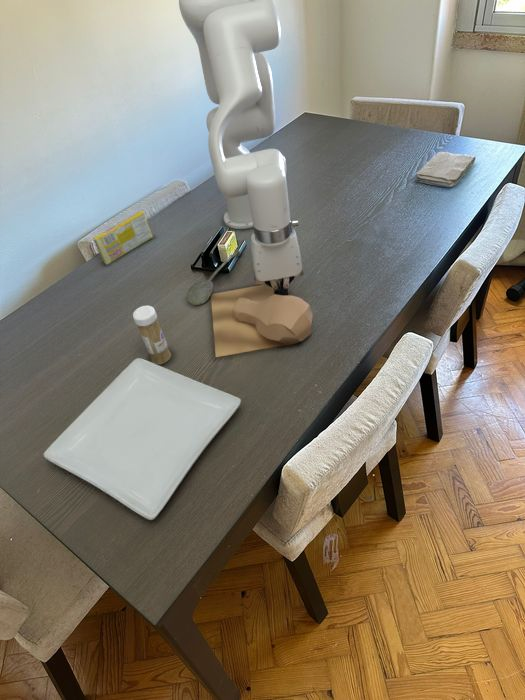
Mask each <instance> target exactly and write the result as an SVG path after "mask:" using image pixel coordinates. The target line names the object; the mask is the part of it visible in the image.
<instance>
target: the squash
mask: <svg viewBox="0 0 525 700" xmlns="http://www.w3.org/2000/svg"><path fill="white" fill-rule="evenodd" d="M233 316H234V318H236V319H237V320H238V321H241V322H248V323H251V324H254V325H256V328H257V331H258V332H259V333H260V334H262V335H263V336H264V337H266V338H267V339H269V340H271V341H274V342H279V343H283V344H289V345H291V344H290V343H295V342H298V343H299V342H303V341H304V340H305V339H306V338H308V337H309V336H310V335H311V334H312V323H313V317H314V314H313V311H312V307H311V305H310V304H309V303H308V302H307V301H305V300H304V299H302V298H301V297H300V296H299V297H298V296H295V295H291V294H290V295H289V294H288V296H282V295H276V294H274V295H272V296H270V297H269V298H268V299H267V300H264V301H260V302H258V301H252V300H249V299H246V298H239V299H238V301H237V302H236V304H235V306H234V307H233ZM295 344H296V343H295Z"/></svg>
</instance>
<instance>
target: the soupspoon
mask: <svg viewBox="0 0 525 700" xmlns="http://www.w3.org/2000/svg"><path fill="white" fill-rule="evenodd" d="M235 250H236V251H235ZM235 250H234V252H233V253H232V254H233V255H232V254H230V256H231V257H230V256H229V257H230V258H229V257H228V258H229V259H228V258H227V259H226V260H225V261H224V262H222V264H221V265H220V266H219V267H217V269H216V270H215V271H214V272H213V273H212V274H210V276H209V277H208V279H206V280H200V281H197V282H196V283H193V285H191V286H190V287H189V288H188V291H187V293H186V299H187V302H188V303H189V304H190V305H192V306H200V305H203V304H204V303H206V302H207V301H208V299H210V298H211V294H213V290H214V283H213V281H212V280H213V279H214V278H215V276H217V274H218V273H219V272H220V271H221V270H222V268H224V266H226V264H227V263H228V262H229V261H230V260H231V259H234V258H235V257H236V256H238V257H239V256H241V253H242V252H241V251H240V249H235Z"/></svg>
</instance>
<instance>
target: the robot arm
mask: <svg viewBox="0 0 525 700" xmlns="http://www.w3.org/2000/svg"><path fill="white" fill-rule="evenodd" d="M178 6H179V12H180V14H181V15H180V16H181V17H182V20H183V22H184V24H185V26H186V27H187V29H188V31H189V32H190V33H191V35H192V36H193V38H194V40H195V42H196V45H197V48H198V53H199V58H200V63H201V70H202V75H203V81H204V85H205V89H206V93H207V97H208V99H209V100H210V102H212V103H213V104H214V105H218V106H217V107H216V106H215V107H214V108H212V109H211V110H210V111H209V112H208V114H207V115H206V121H205V122H206V127H207V132H208V139H207V142H208V143H207V145H208V152H209V157H210V161H211V166H212V169H213V174H214V179H215V181H216V185H217V188H218V190H219V192H220V193H221V194H222V196H224V200H225V204H226V210H227V211H226V212H225V213H224V215H223V222H224V224H225V225H226V226H227V227H229V228H231V229H233V230H235V229H236V230H247V229H251V228H253V233H252V234H251V236H250V237H251V238H250V250H251V261H252V268H253V271H254V272H253V273H254V279H253V280H254V284H256V285H265V284H266V285H268V286H270V287H272V288H273V290H274V294H276V295H282V296H289V289H288V288H289V287H290V284H291V283H292V282H293V281H294V280H295V279H297V278H299V277H303V276H304V270H303V263H302V255H301V251H300V245H299V240H298V236H297V233H296V230H295V227H299V220H298V219H294V218H293V219H292V217H291V212H290V211H291V210H290V202H289V193H288V192H289V191H288V182H287V174H288V167H287V163H286V162H287V160H286V158H285V155H283V154H282V152H281V151H280V150H279V149H277V148H266V149H262V150H257V151H253V152H250V150H249V149H248V148H247V147H245V146H244V145H243V144H245V143H248V142H251V141H255V140H256V141H257V140H261V139H264V138H267V137H271V136H272V135H273V134H274V133H275V131H276V124H277V123H276V122H277V121H276V108H275V96H274V81H273V76H272V75H273V74H272V69H271V66H270V65H271V64H270V62H269V60H268V58H267V56H265V54H263V53H264V52H268V51H272V50H275V49H276V48H278V47H279V44H280V42H281V36H282V35H281V34H282V33H281V32H282V31H281V23H280V18H279V15H278V11H277V8H276V6H275V3H274V1H273V0H178ZM279 279H281V280H279ZM278 280H279V281H278ZM278 282H280V285H279V283H278Z"/></svg>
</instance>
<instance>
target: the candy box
mask: <svg viewBox="0 0 525 700" xmlns="http://www.w3.org/2000/svg"><path fill="white" fill-rule="evenodd" d="M153 236H154V235H153V233H152V231H151V227H150V226H149V223H148V220H147V217H146V215H145V212H144V211H142V210H140V211H138V212H137V213H135V214H133V215H131V216H129V217H128V218H126V219H125V220H123V221H120V222H119V223H117V224H116V225H114V226H112V227H111V228H108V229H107V230H105V231H103V232H102V233H100V234H98V235H96V236H94V237H93V238H92V240H93V242H94V244H95V247H96V248H97V249H96V250H97V251H98V253H99V255H100V257H101V260H102V262H103V264H104V265H109V264H111V263H113V262H114V261H116V260H118V259H119V258H121V257H123V256H124V255H126V254H128V253H129V252H132V251H133V250H135V249H136V248H138V247H139V246H141V245H143V244H144V243H146V242H148V241H149V240H151V239H153V238H154V237H153Z"/></svg>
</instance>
